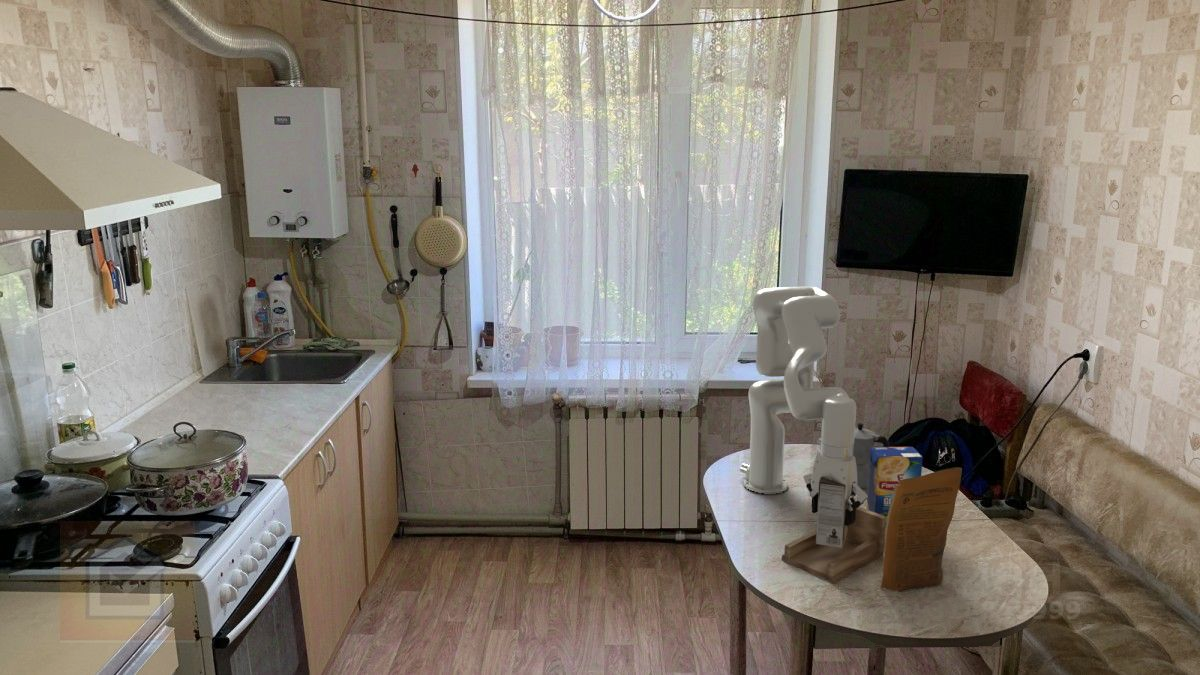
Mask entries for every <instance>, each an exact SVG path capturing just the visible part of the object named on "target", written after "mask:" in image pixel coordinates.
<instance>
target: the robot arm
mask: <svg viewBox="0 0 1200 675" xmlns="http://www.w3.org/2000/svg"><path fill="white" fill-rule="evenodd" d="M752 307H753V314H754V318H755V321H756V328H757V331H756V332H757V335H756V349H755V350H756V351H755V368H756V371H757V373H758V374H759V375H760V376H763V377H767V378H768V377H769V378H770V377H771V378H772V377H773V379H762V380H759V381H755V382H754V383H752V384H751V385H750V387H749V390H748V394H747V395H748V404H749V411H750V412H749V413H750V439H749V440H750V442H749V464H748V463H742V465H741V467H740V468H739V471H740V473H742V474H745V477H744V479H743V484H744V485H743V487H744V486H745V487H746V488H745V487H744V488H745V489H747V490H748V489H749V490H748V491H750V490H752V491H755V492H754V493H756V492H758V493H757V494H761V493H764V494H763V495H776V493H777V494H781V493H783V491H784V492H785V491H786V490H788V488H787V487H788V485H789V484H788V483H789V482H788V481H787V480H786V479H785V478H783V477H784V457H785V435H786V434H785V433H786V431H785V430H786V429H785V426H784V424H783V422H782V421H781V419H779V417H778V414H785V413H786V414H788V413H790V414H791V415H792V416H793V417H794V418H795V419H797V420H799V421H812V420H814V421H815V420H821V431H820V438H818V439H817V440H816V444H817V445H819V450H817V451H816V455H815V456H814V461H813V466H812V472H810V473H807V474H805V475H803V480H804V483H805V485H806V486H805V487H806V489H807V490H808V493H809V496H810V497H811V504H810V505H811V513H812V514H816V513H818V493H819V481H820V478H821V477H824V478H827V479H829V480H833V481H835V482H838V483H841V484H844V485H846V491H845V501H846V506H847V508H848V509H846V510H845V525H846V526H849V525H851V524H853V523H854V522H855V519H856V508H858V507H861V506H862V505H863V504H864V503H865V502H866V501H867V498H868V496H867V492H865V491H864V490H863V488H860V487H859V486H858V485H857V465H856V459H855V457H854V456H853V452H854V437H855V428H856V421H857V418H856V417H857V403H856V401H855V400H854V399H852V398H851V397H849V394H848V393H847V392H846V390H845V389H843V388H842V387H839V386H827V387H813V386H814V385H813V384H814V373H815V362H818V361H819V360H821V359H822V358H823V357H825V355H826V353H827V352H828V345H827V342H826V338H825V336H824V332H823V329H831V328H835V327H836V326H837V325H838V324H839V322H840V319H841V318H840V317H841V310H840V307H839V304H838V302H837V300H836V298H834V297H833V295H831V294H830V293H828V292H826V291H824V290H823V289H821V288H819V287H816V286H812V285H811V286H809V285H807V286H806V285H805V286H777V287H776V286H775V287H766V288H762V289H760V290H758V291H757V292H756V293H755V295H754V297H753V305H752ZM774 377H775V378H774ZM778 377H783V378H778ZM752 491H751V492H752ZM856 496H857V497H858V498H856Z"/></svg>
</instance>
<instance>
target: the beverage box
mask: <svg viewBox="0 0 1200 675" xmlns="http://www.w3.org/2000/svg"><path fill="white" fill-rule="evenodd" d="M923 459H924V456H923V455H922V454H920V452H919V451H918V450H917V449H916V448H914V447H913V446H889V447H883V446H880V447H878V446H877V447H876V446H875V447H874V446H873V447H870V459H869V473H868V487H867V488H866V489H867V490H866V494H867V496H868V498H867V499H866V500H865V502H866V504H865V509H866V510H869V511H872V512H874V513H877V514H880V515H883V516H885V517H886V522H887V516H888V512H889V507H890V504H891V500H892V495H893V492H894V488H895V485H900V482H899V480H903V479H908V478H914V477H918V476H922V470H923V469H922V468H923ZM885 531H886V524H885ZM884 540H885V537H884Z"/></svg>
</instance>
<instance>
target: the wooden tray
mask: <svg viewBox="0 0 1200 675" xmlns="http://www.w3.org/2000/svg"><path fill="white" fill-rule="evenodd" d="M885 524H886V517H885V516H883V515H880V514H877V513H874V512H872V511H869V510H866V508H864V507H861V506H859V507H858V508H856V519H855V522H854V523H853V524H851V525H849V526H848V528H847V535H846V538H845V541H844V545H843V547H842V548H839V547H833V546H826V545H820V544H816V533H817V528H815V529H814V530H812V531H810V532H807V533H806V534H804V535H802V536H800V537H798V538H796V539H794V540H792V541H790V542H788V543H786V544H784V554H781V561H783V560H784V562H785V561H786V562H785V563H788V564H790V565H792V564H793V565H792V566H794V567H797V568H799V569H801V570H803V571H806V572H808V573H811V575H815V576H816V577H819V578H822V579H824V580H825V581H829V582H831V583H833V584H836V583H838V582H840V581H841V580H843V579H845V578H846V577H847V578H848V576H850V575H852V574H854V573H855V572H858V571H859V570H861V569H862V568H864V567H866V566H868V565H869V564H871V563H873V562H875V561H876V560H878V559H879V558H881V557H884V544H885V539H884V537H885Z"/></svg>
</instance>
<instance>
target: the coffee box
mask: <svg viewBox="0 0 1200 675" xmlns="http://www.w3.org/2000/svg"><path fill="white" fill-rule="evenodd" d="M845 491H846V485H844V484H841V483H838V482H835V481H833V480H829V479H827V478H824V477H821V478H820V481H819V493H818V512H817V517H816V529H817V533H816V544H820V545H826V546H833V547H839V548H842V547H843V545H844V541H845V538H846V535H847V528H848V526H846V525H845V510H846V509H848V508H847V506H846V501H845Z"/></svg>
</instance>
